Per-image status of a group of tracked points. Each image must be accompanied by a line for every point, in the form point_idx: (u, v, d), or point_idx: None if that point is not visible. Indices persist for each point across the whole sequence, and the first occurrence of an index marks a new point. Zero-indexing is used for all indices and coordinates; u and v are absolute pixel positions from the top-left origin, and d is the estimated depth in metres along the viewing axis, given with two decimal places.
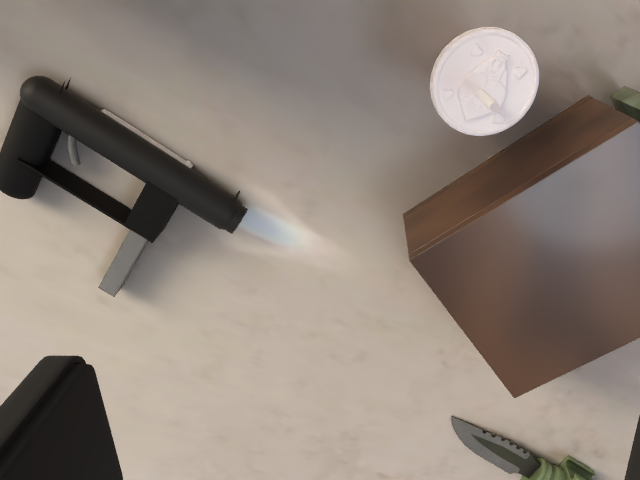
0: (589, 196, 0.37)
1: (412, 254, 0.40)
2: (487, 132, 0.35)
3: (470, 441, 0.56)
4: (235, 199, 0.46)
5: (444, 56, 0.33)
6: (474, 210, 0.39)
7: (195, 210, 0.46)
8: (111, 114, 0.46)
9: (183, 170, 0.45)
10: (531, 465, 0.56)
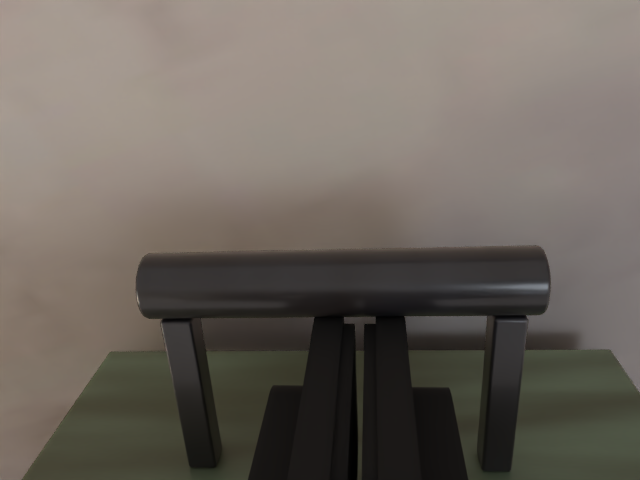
0: None
1: None
2: None
3: None
4: None
5: None
6: None
7: None
8: None
9: None
10: None
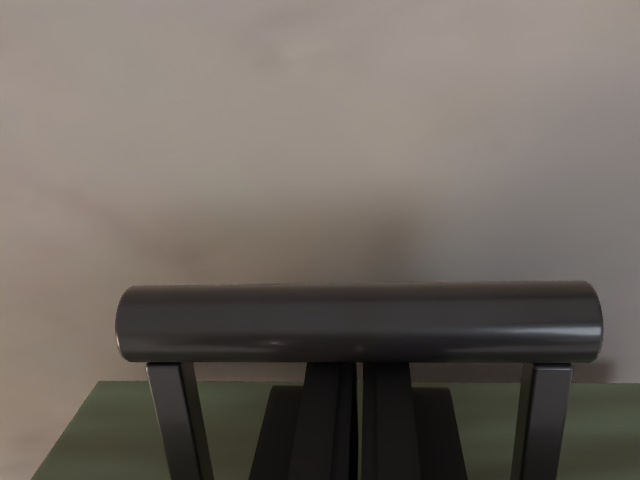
0: None
1: None
2: None
3: None
4: None
5: None
6: None
7: None
8: None
9: None
10: None
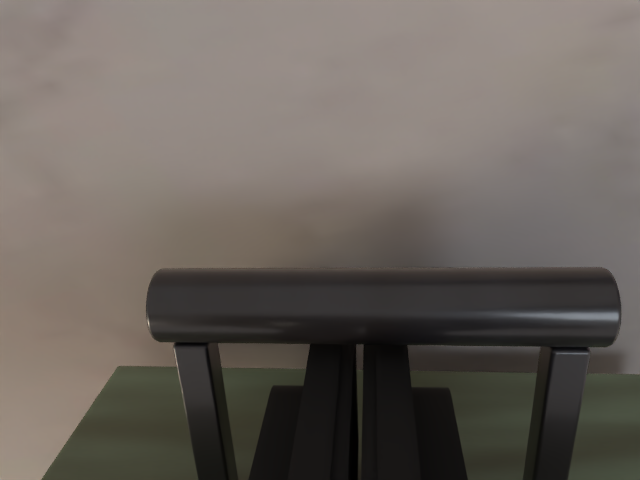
0: None
1: None
2: None
3: None
4: None
5: None
6: None
7: None
8: None
9: None
10: None
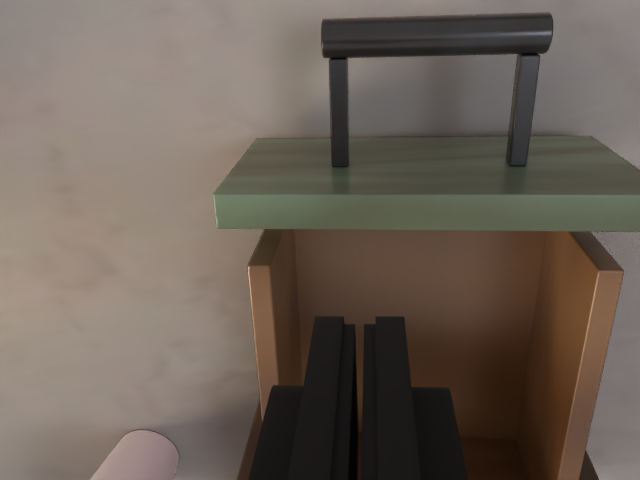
0: None
1: None
2: None
3: None
4: None
5: None
6: None
7: None
8: None
9: None
10: None
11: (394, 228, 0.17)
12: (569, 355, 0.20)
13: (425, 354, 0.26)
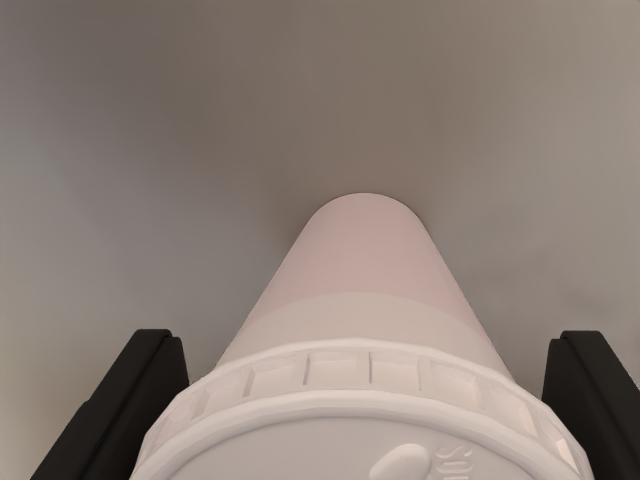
0: None
1: None
2: None
3: None
4: None
5: (247, 415, 0.06)
6: None
7: None
8: None
9: None
10: None
11: None
12: None
13: None
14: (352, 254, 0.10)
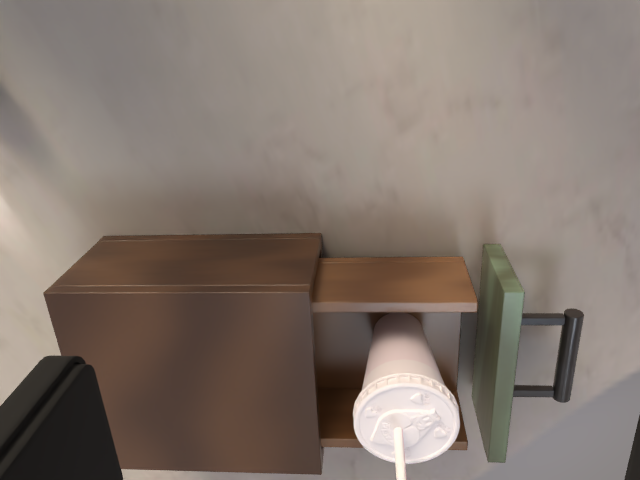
0: (239, 331, 0.35)
1: (52, 288, 0.36)
2: (382, 457, 0.34)
3: None
4: None
5: (388, 387, 0.32)
6: (137, 281, 0.36)
7: None
8: None
9: None
10: None
11: (498, 369, 0.36)
12: None
13: (361, 340, 0.42)
14: (401, 345, 0.36)
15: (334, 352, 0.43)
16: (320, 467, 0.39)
